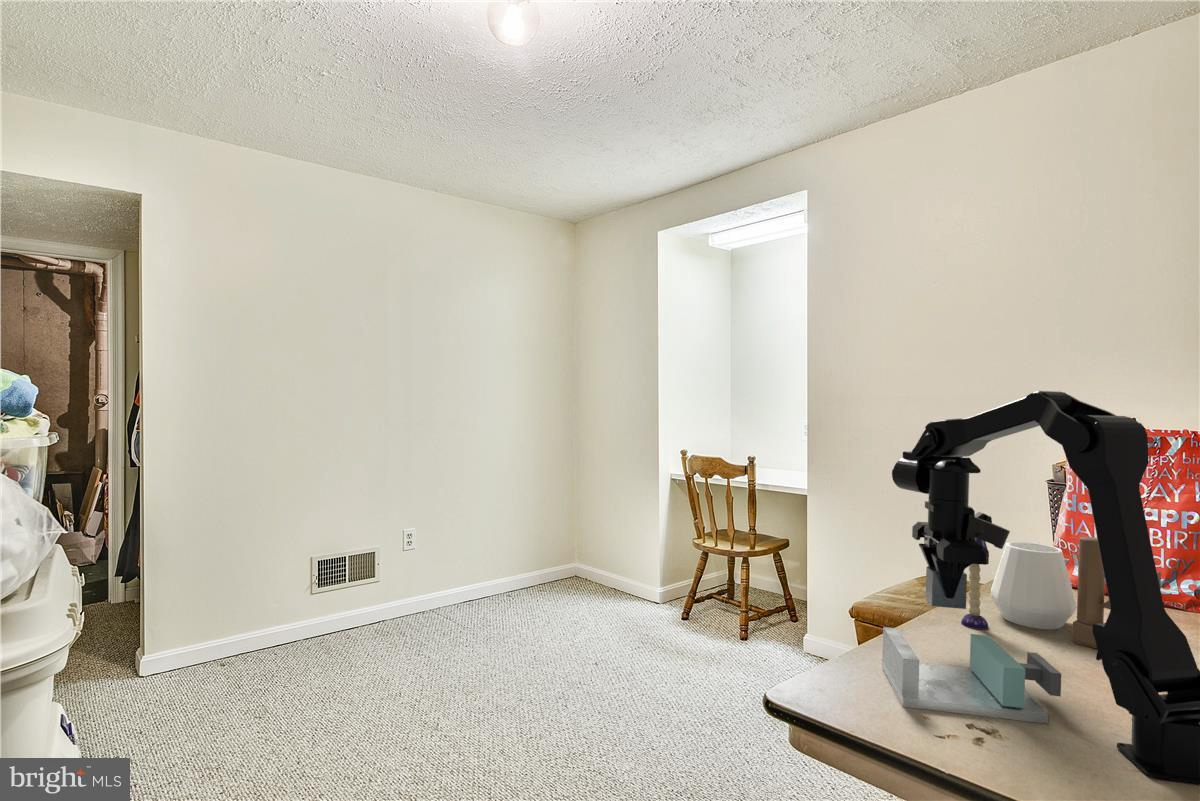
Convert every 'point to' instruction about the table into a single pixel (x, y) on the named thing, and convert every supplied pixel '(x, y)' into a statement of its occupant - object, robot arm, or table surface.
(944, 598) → the steel block
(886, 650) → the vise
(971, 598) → the toy lamp
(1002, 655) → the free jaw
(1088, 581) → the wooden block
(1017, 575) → the white faceted vase
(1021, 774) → the table surface
